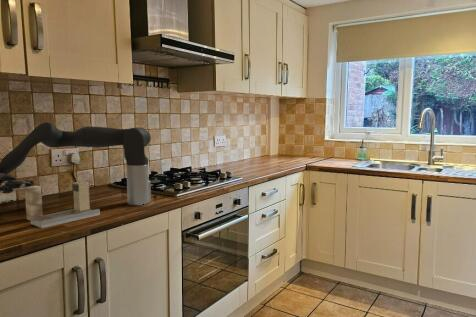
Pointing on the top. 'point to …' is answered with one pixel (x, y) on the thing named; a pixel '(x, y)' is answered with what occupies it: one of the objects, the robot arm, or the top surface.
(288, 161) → the top surface
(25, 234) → the top surface
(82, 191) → the rail
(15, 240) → the top surface
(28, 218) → the beige tall rectangular block
